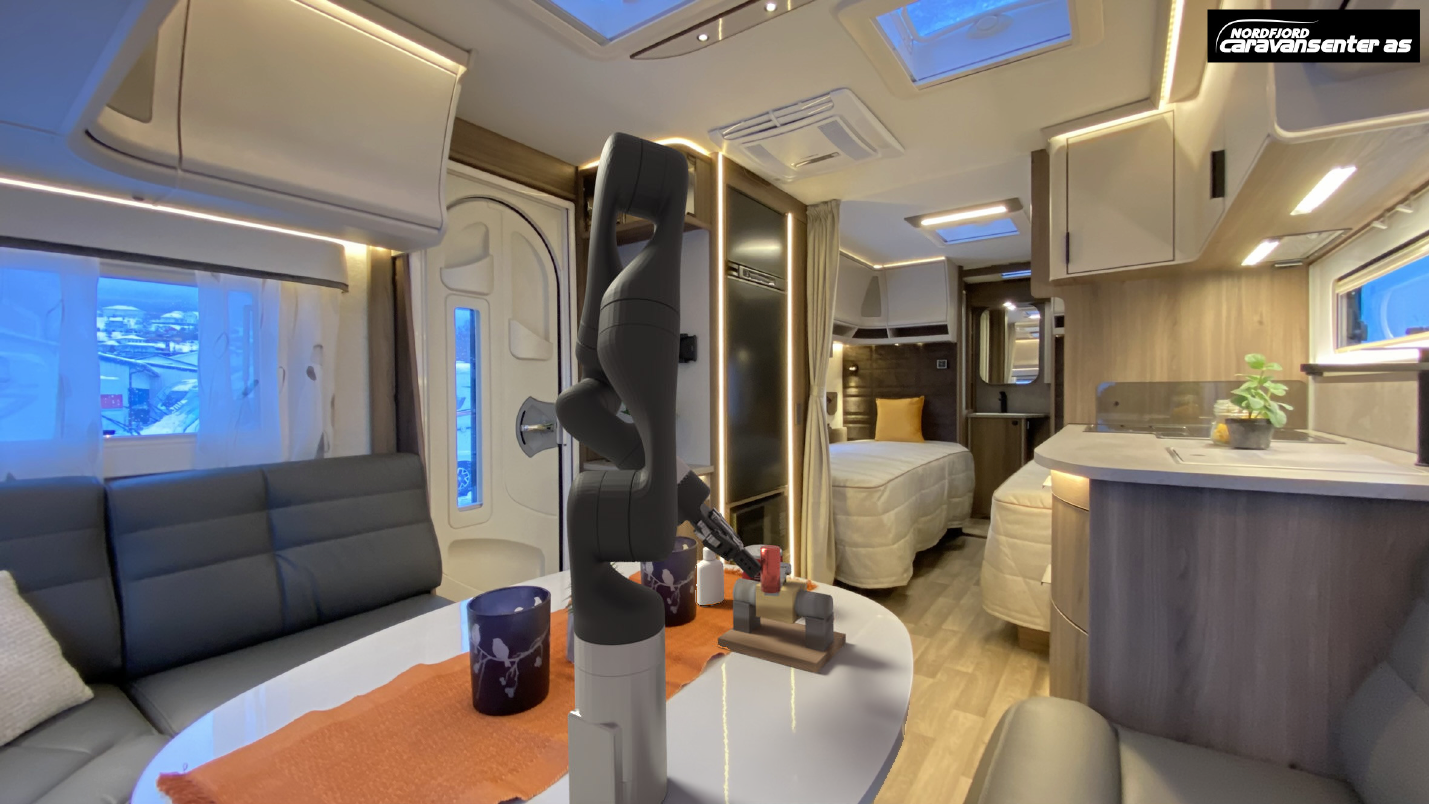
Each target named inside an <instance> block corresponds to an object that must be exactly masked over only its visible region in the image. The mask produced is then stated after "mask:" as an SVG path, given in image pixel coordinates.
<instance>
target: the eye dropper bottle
mask: <svg viewBox="0 0 1429 804" xmlns="http://www.w3.org/2000/svg"><path fill="white" fill-rule="evenodd" d="M702 556H703V557H702V558H703V559H702V560H700V561H699V562H698V563H697V564H696V565H697V584H696V586H697V603H698V604H699V605H698V604H697V603H696V604H697V605H698V606H700V605H706V604H714V603H718V602H721V601H723V600H725V571H724V570H725V569H724V567H725V566H724V563H723V562H722V561H721V560H720V559H717V558H716V557H717V554H716V553H714V552H713V551H711V550H710V549H708V548H707V547H705V546H704V547H703V548H702ZM723 602H724V601H723ZM721 603H722V602H721Z"/></svg>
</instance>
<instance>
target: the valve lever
mask: <svg viewBox="0 0 1429 804" xmlns="http://www.w3.org/2000/svg"><path fill="white" fill-rule="evenodd" d="M764 545H765V546H761V547H760V568H761V570H760V571H761V591H762V592H764V595H767V596H779V593H780V591H781V588H782V585H783V583H786V578H787V576H790V575H791V574H792V564H791V563H790V562H789V563H788V562H780V549H781V547H780V546H778V545H771V544H770V545H769V544H764Z"/></svg>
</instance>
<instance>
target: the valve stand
mask: <svg viewBox="0 0 1429 804" xmlns="http://www.w3.org/2000/svg"><path fill="white" fill-rule="evenodd" d="M732 599H733V601H732V628H730V629H729V630H728V631H726V632H724V633H723V634H722V635H720V636H718V637H717V646H718V645H720V646H722V647H727V648H728V649H730V650H729V651H731V652H735V653H739V654H742V655H746V656H749V657H754V658H756V659H761V660H765V661H769V662H771V663H776V664H779V665H784V666H787V667H790V668H791V667H792V668H794V669H798V670H801V671H806V672H810V673H813V674H818V672H820V671H821V670H822V669H823V667H825V665H826V664H827V663H828V662H829V661H830V660H831V659H832V658H833V657H834V656H835V655H836V654H837V653H838V652H839V651H840V650H841V649H842V648H844V647H843V646H845V644H846V642H847V634H846V633H843V632H838V631H834V629H835V628H834V627H835V626H834V611H833V610H834V599H833V596H832V595H831V594H826V593H822V592H817V591H816V592H815V591H812V590H811V591H810V590H808V582H807V581H803V580H798V579H791V578H787V577H786V583H783V585H782V588H781V591H780V593H779V596H767V595H764V592H762V591H761V582H758V581H752V580H747V579H742V577H740V578H738V579H737V580H736V581H735V583H734V584H733V589H732ZM801 618H804V619H805V620H804V621H805V622H804V624H802V623H797V621H799V620H800V619H801Z"/></svg>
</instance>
